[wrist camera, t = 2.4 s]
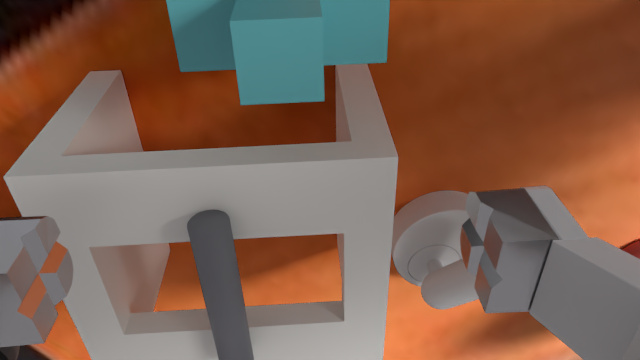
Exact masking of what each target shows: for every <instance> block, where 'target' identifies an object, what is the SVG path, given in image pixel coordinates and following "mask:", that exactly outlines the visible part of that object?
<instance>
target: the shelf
mask: <svg viewBox="0 0 640 360" xmlns="http://www.w3.org/2000/svg"><path fill="white" fill-rule="evenodd" d="M335 75H336V142H328V143H308V144H288V145H269V146H249V147H229V148H209V149H189V150H169V151H149V152H143V148H142V145H141V141H140V137H139V134H138V130H137V126H136V123H135V119H134V116H133V112H132V108H131V105H130V101H129V97H128V94H127V90H126V87H125V83H124V79H123V76H122V72H121V70H111V71H90V72H89V73H88V74H87V76H86V77H85V78H84V79H83V80H82V82H81V83H80V84H79V85H78V87H77V88H76V89H75V90H74V91H73V93H72V94H71V95H70V96H69V98H68V99H67V100H66V101H65V102H64V104H63V105H62V106H61V107H60V108H59V110H58V111H57V112H56V113H55V115H54V116H53V117H52V118H51V119H50V121H49V122H48V123H47V124H46V126H45V127H44V128H43V129H42V130H41V132H40V133H39V134H38V135H37V136H36V138H35V139H34V140H33V141H32V143H31V144H30V145H29V146H28V147H27V149H26V150H25V151H24V152H23V154H22V155H21V156H20V157H19V158H18V160H17V161H16V162H15V163H14V164H13V166H12V167H11V168H10V169H9V171H8V172H7V173H6V174H5V175H4V177H3V178H4V180H5V182H6V184H7V186H8V188H9V190H10V192H11V194H12V196H13V199H14V201H15V203H16V205H17V207H18V209H19V211H20V213H21V215H22V217H32V216H48V217H51V218H53V219H54V220H55V222H56V224H57V226H58V228H59V230H60V234H59V236H58V239H57V242H58V243H60V244H61V245H62V246H64V247H65V248H67V249H68V251H69V253H70V256H71V258H72V263H73V269H74V271H73V279H72V285H71V288H70V290H69V292H68V294H67V296H66V297H65V298H64V299H63V301H64V303H65V305H66V307H67V310H68V312H69V314H70V316H71V318H72V320H73V322H74V324H75V326H76V328H77V330H78V332H79V334H80V336H81V338H82V340H83V342H84V344H85V347H86V349H87V351H88V353H89V355H90V357H91V359H92V360H383V352H384V339H385V326H386V313H387V300H388V287H389V274H390V261H391V248H392V235H393V222H394V209H395V196H396V183H397V170H398V154H397V151H396V148H395V145H394V142H393V139H392V136H391V133H390V130H389V127H388V124H387V121H386V118H385V115H384V112H383V109H382V106H381V103H380V100H379V97H378V94H377V91H376V88H375V85H374V82H373V79H372V76H371V73H370V71H369V68H368V65H367V64H346V65H335ZM321 234H337V244H338V253H339V261H340V270H341V278H342V301H330V302H313V303H296V304H279V305H262V306H245V304H244V298H243V292H242V287H241V281H240V275H239V269H238V263H237V258H236V252H235V246H234V240H233V239H248V238H266V237H284V236H303V235H321ZM175 242H191V246H192V250H193V255H194V259H195V263H196V267H197V271H198V275H199V280H200V284H201V288H202V292H203V296H204V300H205V304H206V309H194V310H176V311H159V312H153V311H154V307H155V304H156V300H157V297H158V293H159V290H160V286H161V282H162V279H163V275H164V272H165V268H166V265H167V261H168V257H169V254H170V246H169V243H175Z"/></svg>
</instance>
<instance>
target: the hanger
mask: <svg viewBox="0 0 640 360" xmlns="http://www.w3.org/2000/svg"><path fill="white" fill-rule="evenodd" d="M166 3H167V8H168V13H169V18H170V23H171V28H172V33H173V38H174V42H175V47H176V52H177V57H178V62H179V67H180V72H193V71H215V70H236V74H237V81H238V89H239V97H240V104H241V105H256V104H277V103H298V102H319V101H325V98H324V65H346V64H368V63H387V47H388V28H389V9H390V0H166Z"/></svg>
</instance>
